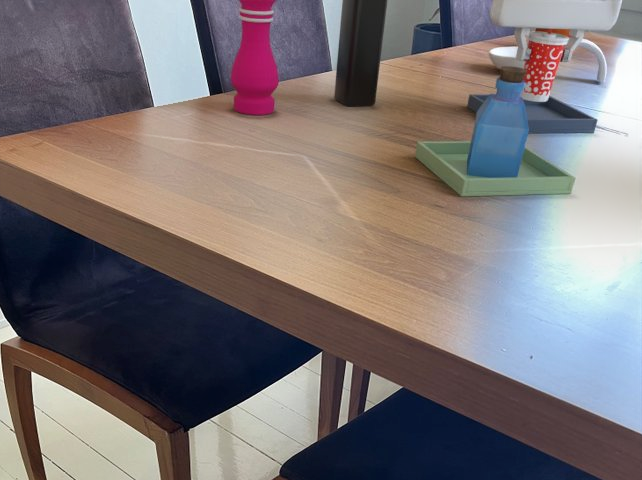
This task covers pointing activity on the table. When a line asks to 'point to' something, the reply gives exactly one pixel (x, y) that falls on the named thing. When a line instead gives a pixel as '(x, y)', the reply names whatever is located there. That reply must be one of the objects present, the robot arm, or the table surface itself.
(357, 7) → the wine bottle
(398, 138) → the table surface
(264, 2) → the pepper mill
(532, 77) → the beverage cup
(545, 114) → the slate tray
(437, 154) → the sage tray
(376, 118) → the table surface
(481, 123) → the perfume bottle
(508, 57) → the white ladle
